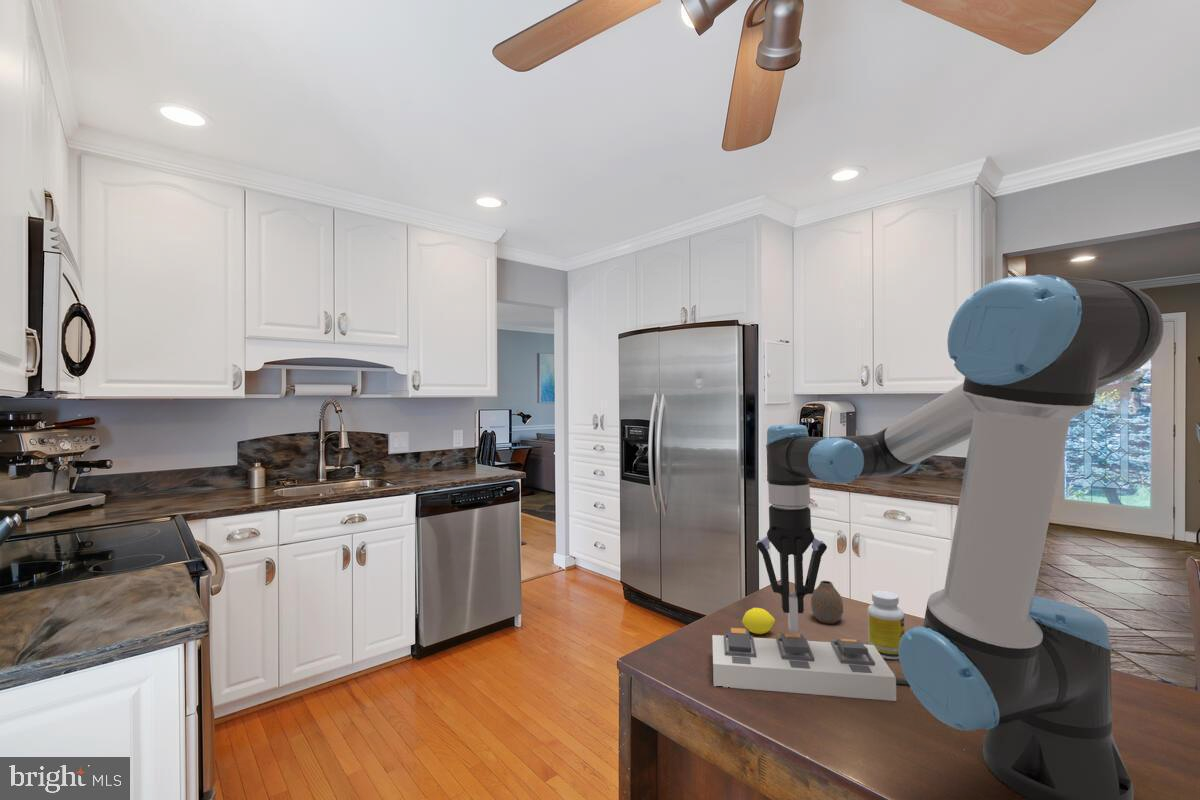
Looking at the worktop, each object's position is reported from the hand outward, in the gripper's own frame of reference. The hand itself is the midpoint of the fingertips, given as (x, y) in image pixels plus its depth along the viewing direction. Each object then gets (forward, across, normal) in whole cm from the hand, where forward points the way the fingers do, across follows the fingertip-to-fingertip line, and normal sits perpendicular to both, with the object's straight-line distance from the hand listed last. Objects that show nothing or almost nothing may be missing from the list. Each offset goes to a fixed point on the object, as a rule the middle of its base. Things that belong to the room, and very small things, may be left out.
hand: (793, 629), depth 101 cm
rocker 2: (+2, -10, +2) cm, 10 cm away
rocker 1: (+2, +10, +2) cm, 11 cm away
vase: (+7, -11, -24) cm, 27 cm away
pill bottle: (+7, -19, -9) cm, 22 cm away
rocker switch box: (+7, -5, +3) cm, 9 cm away
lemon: (+7, +5, -15) cm, 17 cm away
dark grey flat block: (+2, 0, +2) cm, 3 cm away
